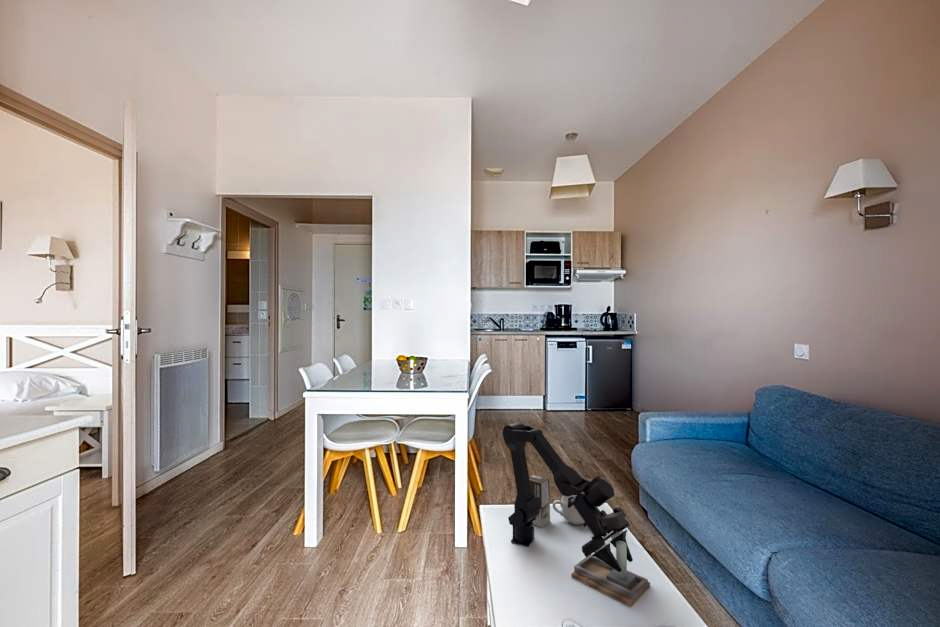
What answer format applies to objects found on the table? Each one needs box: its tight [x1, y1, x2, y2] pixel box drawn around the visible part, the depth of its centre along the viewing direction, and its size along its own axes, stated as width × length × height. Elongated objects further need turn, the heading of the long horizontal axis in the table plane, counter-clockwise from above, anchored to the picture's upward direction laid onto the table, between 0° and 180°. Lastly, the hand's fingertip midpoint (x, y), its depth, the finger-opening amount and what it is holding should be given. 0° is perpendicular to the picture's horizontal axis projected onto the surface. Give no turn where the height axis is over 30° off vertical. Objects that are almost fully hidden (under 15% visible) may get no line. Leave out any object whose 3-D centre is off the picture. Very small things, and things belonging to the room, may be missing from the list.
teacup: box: [552, 495, 585, 526], centre depth 160 cm, size 14×11×8 cm
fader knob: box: [606, 541, 638, 590], centre depth 121 cm, size 6×6×11 cm
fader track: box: [571, 554, 651, 608], centre depth 123 cm, size 18×12×3 cm, turn 44°
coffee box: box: [528, 472, 551, 528], centre depth 160 cm, size 9×6×16 cm
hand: (626, 566), depth 120 cm, fingers open, 6 cm apart
